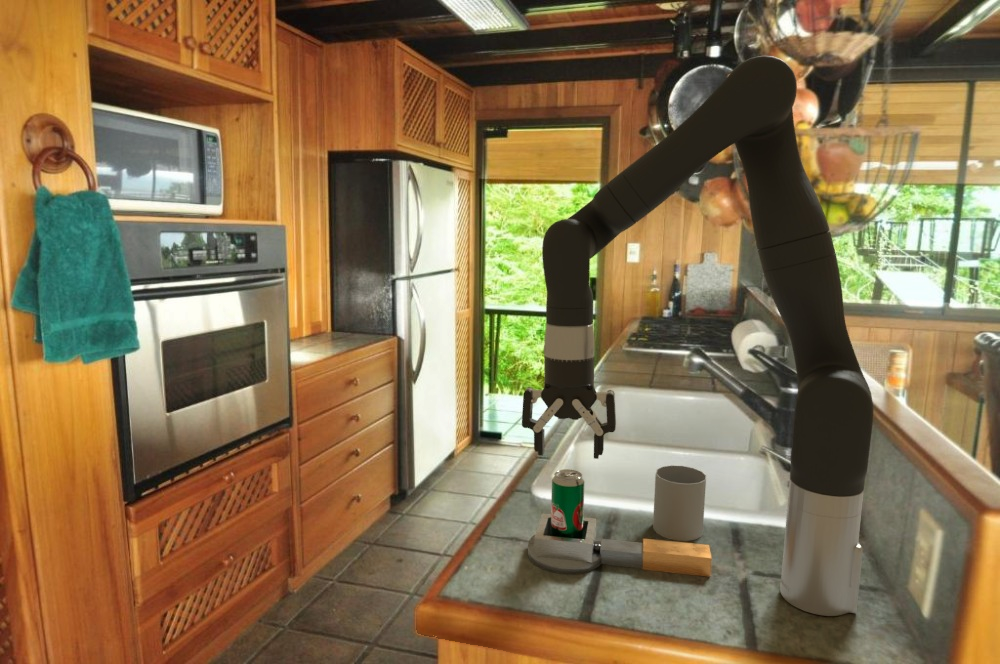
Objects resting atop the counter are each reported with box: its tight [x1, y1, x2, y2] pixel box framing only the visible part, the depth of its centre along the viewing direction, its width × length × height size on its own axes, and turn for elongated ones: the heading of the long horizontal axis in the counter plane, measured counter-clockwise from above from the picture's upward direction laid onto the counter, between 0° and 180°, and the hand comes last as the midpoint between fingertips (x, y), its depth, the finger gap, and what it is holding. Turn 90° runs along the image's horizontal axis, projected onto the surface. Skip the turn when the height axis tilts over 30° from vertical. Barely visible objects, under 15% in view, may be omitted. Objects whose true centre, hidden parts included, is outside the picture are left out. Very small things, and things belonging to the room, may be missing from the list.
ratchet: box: [527, 513, 713, 577], centre depth 107 cm, size 28×12×4 cm, turn 78°
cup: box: [652, 464, 707, 542], centre depth 117 cm, size 8×8×10 cm
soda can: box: [550, 468, 585, 539], centre depth 107 cm, size 5×5×12 cm
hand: (568, 455), depth 106 cm, fingers open, 8 cm apart
